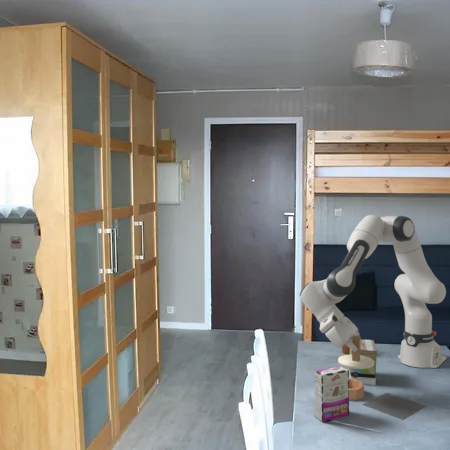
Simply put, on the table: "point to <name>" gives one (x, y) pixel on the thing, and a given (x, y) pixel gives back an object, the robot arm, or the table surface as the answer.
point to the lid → (356, 357)
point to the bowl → (355, 389)
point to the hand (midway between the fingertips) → (358, 349)
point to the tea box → (368, 374)
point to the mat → (394, 406)
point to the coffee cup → (345, 348)
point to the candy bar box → (331, 393)
